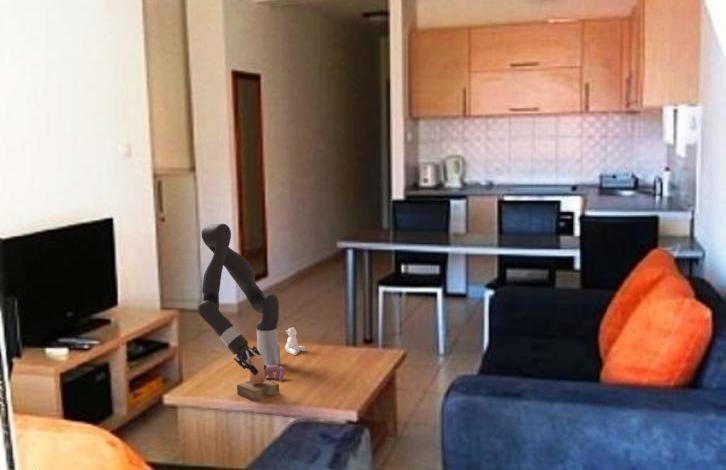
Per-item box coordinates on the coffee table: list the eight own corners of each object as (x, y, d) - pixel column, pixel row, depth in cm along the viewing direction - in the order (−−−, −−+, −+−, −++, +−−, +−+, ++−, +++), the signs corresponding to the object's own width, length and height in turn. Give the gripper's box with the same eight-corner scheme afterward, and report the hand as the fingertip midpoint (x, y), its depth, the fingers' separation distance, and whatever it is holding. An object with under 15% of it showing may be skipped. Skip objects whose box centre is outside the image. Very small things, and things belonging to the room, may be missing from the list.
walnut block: (261, 387, 311) (261, 377, 310) (279, 393, 302) (278, 384, 302) (237, 394, 303) (237, 384, 302) (254, 401, 294) (254, 391, 294)
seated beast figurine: (294, 356, 354) (294, 331, 352) (280, 353, 358) (279, 329, 357) (306, 350, 362) (305, 326, 360) (291, 348, 366) (291, 324, 365)
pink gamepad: (285, 382, 320) (287, 366, 322) (281, 381, 316) (283, 364, 318) (264, 381, 323) (266, 364, 325) (259, 379, 319) (262, 363, 321)
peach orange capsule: (260, 378, 306) (259, 354, 304) (267, 381, 301) (266, 357, 300) (247, 380, 303) (246, 356, 301) (253, 384, 298) (252, 360, 296)
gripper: (229, 338, 295) (257, 371, 293) (248, 329, 309) (275, 360, 306) (218, 350, 298) (246, 382, 295) (238, 341, 311) (264, 372, 308)
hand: (260, 371), depth 301 cm, fingers closed on peach orange capsule, 5 cm apart
